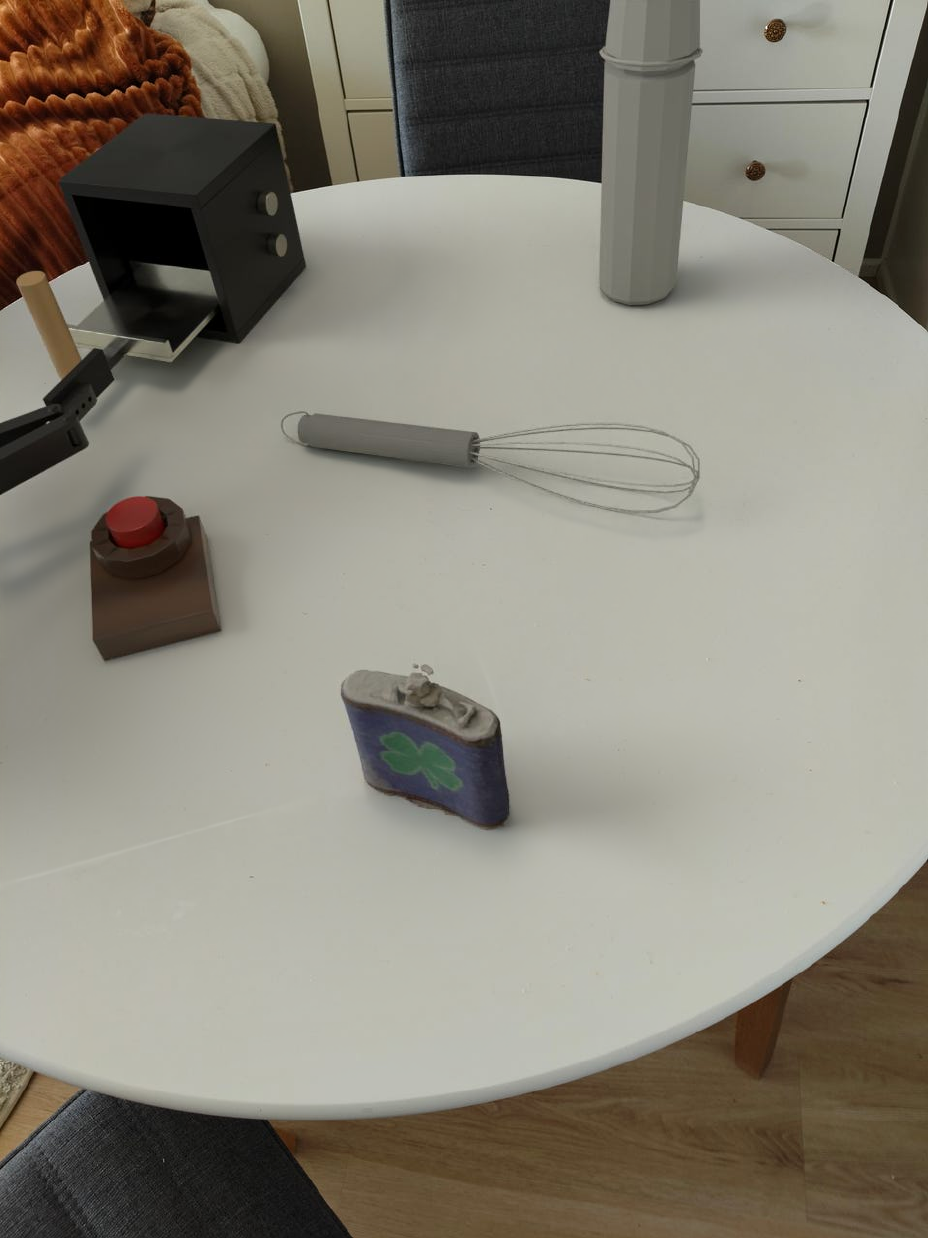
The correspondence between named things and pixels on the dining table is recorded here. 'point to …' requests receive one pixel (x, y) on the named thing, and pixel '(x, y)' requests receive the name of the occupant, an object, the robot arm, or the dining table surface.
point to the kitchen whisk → (456, 446)
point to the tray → (127, 314)
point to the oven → (192, 211)
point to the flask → (428, 745)
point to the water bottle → (645, 144)
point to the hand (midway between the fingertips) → (32, 351)
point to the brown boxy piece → (152, 587)
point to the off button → (135, 522)
